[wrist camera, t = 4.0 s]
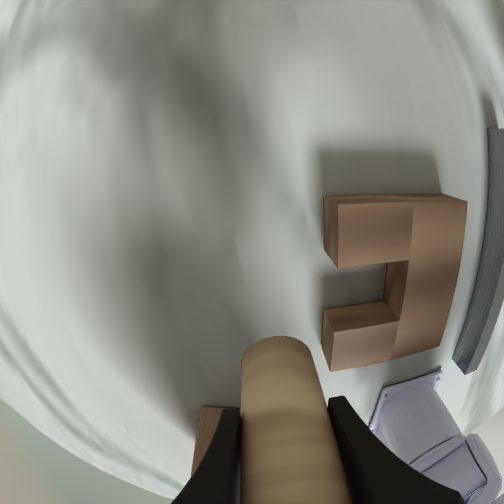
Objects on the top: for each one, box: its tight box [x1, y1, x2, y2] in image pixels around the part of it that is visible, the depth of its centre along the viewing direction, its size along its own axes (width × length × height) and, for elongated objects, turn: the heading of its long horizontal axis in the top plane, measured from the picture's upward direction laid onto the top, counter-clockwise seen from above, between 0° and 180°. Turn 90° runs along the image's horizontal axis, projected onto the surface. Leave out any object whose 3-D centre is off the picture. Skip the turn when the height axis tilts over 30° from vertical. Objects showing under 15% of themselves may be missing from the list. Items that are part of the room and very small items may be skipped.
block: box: [322, 194, 467, 372], centre depth 18 cm, size 12×10×3 cm
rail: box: [452, 128, 504, 375], centre depth 18 cm, size 24×2×3 cm, turn 5°
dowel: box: [240, 336, 353, 504], centre depth 9 cm, size 4×4×9 cm
